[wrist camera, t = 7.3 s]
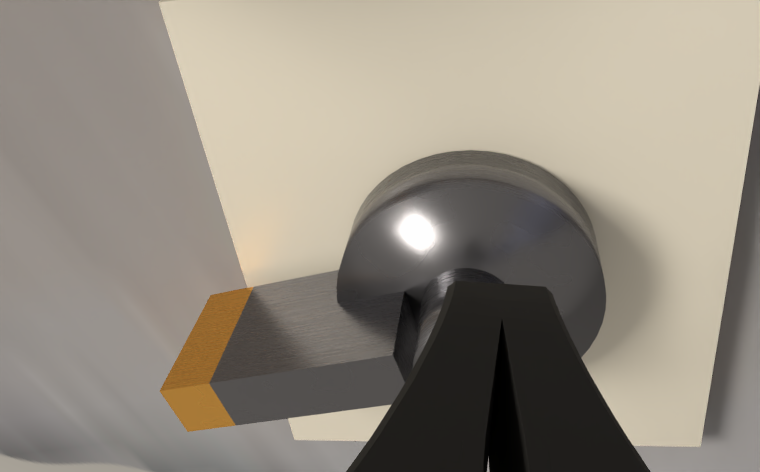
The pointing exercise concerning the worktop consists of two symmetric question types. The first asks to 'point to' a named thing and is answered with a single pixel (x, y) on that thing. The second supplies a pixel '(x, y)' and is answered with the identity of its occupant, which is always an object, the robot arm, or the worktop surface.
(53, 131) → the worktop surface
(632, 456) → the robot arm
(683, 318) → the console plate
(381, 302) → the lever door handle
